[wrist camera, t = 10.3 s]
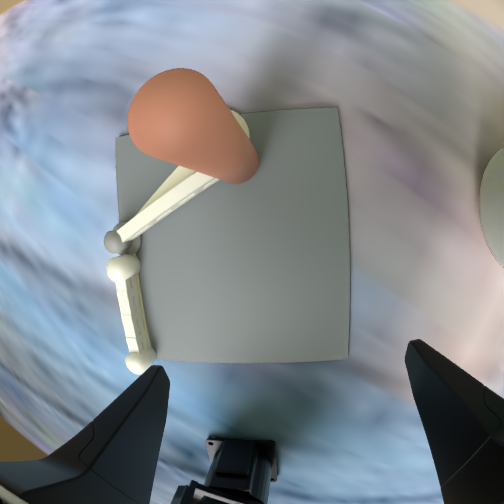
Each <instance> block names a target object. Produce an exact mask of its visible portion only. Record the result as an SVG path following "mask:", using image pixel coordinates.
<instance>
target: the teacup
mask: <svg viewBox="0 0 504 504" xmlns="http://www.w3.org/2000/svg"><path fill="white" fill-rule="evenodd" d="M479 212H480V220H481V226H482V230H483V234H484V237H485V240H486V243H487V245H488V247H489V249H490V251H491V253H492V254H493V256H494V257H495V259H496V260H497V261H498V262H499V264H500V265H501V266H502V267H503V268H504V147H502V148H501V149H500V150H498V151H497V152H496V153H495V155H494V156H493V157H492V158H491V160H490V161H489V163H488V165H487V167H486V169H485V172H484V175H483V178H482V181H481V186H480V194H479Z"/></svg>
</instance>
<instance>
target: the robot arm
mask: <svg viewBox="0 0 504 504" xmlns="http://www.w3.org/2000/svg"><path fill="white" fill-rule="evenodd" d="M405 364H406V368H407V372H408V376H409V380H410V384H411V389H412V393H413V397H414V400H415V403H416V406H417V409H418V412H419V415H420V418H421V421H422V424H423V427H424V430H425V433H426V436H427V440H428V443H429V446H430V450H431V453H432V457H433V460H434V464H435V467H436V471H437V475H438V479H439V483H440V486H441V492H442V496H443V501H444V504H504V398H502V397H500V396H499V395H497V394H496V393H495V392H493V391H492V390H490V389H489V388H488V387H486V386H484V385H483V384H482V383H481V382H479V381H478V380H477V379H475V378H474V377H472V376H471V375H470V374H468V373H467V372H466V371H464V370H463V369H461V368H460V367H459V366H457V365H456V364H454V363H453V362H452V361H450V360H449V359H447V358H446V357H445V356H443V355H442V354H440V353H439V352H438V351H436V350H435V349H433V348H432V347H431V346H429V345H428V344H426V343H425V342H423V341H422V340H420V339H416V340H412V341H410V342H409V343H408V347H407V351H406V355H405ZM169 389H170V381H169V378H168V376H167V374H166V372H165V370H164V368H163V367H162V366H160V365H152V366H150V367H149V368H148V369H147V370H146V371H145V372H144V373H143V374H142V375H141V376H140V377H139V378H138V379H136V380H135V381H134V382H133V383H132V384H131V385H130V386H129V387H128V388H127V389H126V390H125V391H124V392H123V393H122V394H120V395H119V396H118V397H117V398H116V399H115V400H114V401H113V402H112V403H111V404H110V405H109V406H108V407H107V408H105V409H104V410H103V411H102V412H101V413H100V414H99V415H98V416H97V417H96V418H95V419H94V420H93V421H91V422H90V423H89V424H88V425H87V426H86V427H85V428H84V429H83V430H81V431H80V432H79V433H78V434H77V435H75V436H74V437H73V438H72V439H70V440H69V441H68V442H66V443H65V444H64V445H62V446H61V447H60V448H58V449H57V450H55V451H54V452H53V453H51V454H50V455H48V456H47V457H45V458H42V459H38V460H30V461H9V462H0V486H1V487H0V504H149V502H150V497H151V491H152V486H153V481H154V476H155V471H156V466H157V461H158V456H159V451H160V446H161V442H162V437H163V432H164V428H165V423H166V417H167V408H168V399H169ZM211 442H212V443H211ZM269 445H271V446H269ZM206 446H207V450H208V454H209V458H210V462H211V466H210V469H209V472H208V475H207V478H206V481H205V484H204V485H202V484H199V483H198V482H197V481H194V480H191V482H190V484H189V486H188V485H186V486H178V488H177V490H176V493H175V495H174V497H173V500H172V502H171V504H267V501H268V494H269V486H270V482H275V481H277V459H276V443H275V442H274V441H262V440H237V439H222V438H207V440H206Z"/></svg>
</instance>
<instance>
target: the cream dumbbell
mask: <svg viewBox="0 0 504 504" xmlns="http://www.w3.org/2000/svg"><path fill="white" fill-rule="evenodd" d="M140 267H141V265H140V261H139V259H138V257H137V256H134V255H130V254H124V255H121V256H117V257H114V258H112V259H110V260H109V261H108V263H107V267H106V270H107V274H108V276H109V278H110V279H111V280H112V281H114V282H116V288H117V296H118V300H119V305H120V310H121V317H122V322H123V325H124V330H125V334H126V340H127V345H128V347H129V352H130V354H129V355H128V356H127V357H126V360H125V362H126V365H127V367H128V369H129V370H130V371H131V372H133V373H135V374H143V373H144V372H145V371H146V370H147V368H148V367H149V366H150V365H151V364H152V363H153V362H154V361H155V359H156V352H155V350H154V349H153V348H152V347H149V346H148V345H147V340H146V332H145V330H144V325H143V320H142V311H141V308H140V304H139V298H138V287H137V285H136V279H135V275H136V274H137V273H139V271H140Z"/></svg>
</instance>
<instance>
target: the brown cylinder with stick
mask: <svg viewBox="0 0 504 504" xmlns="http://www.w3.org/2000/svg"><path fill="white" fill-rule="evenodd" d="M128 131H129V135H130V137H131V139H132V141H133V143H134V144H135V146H136V147H137V148H138V149H139V150H140V151H142V152H143V153H145V154H146V155H149V156H151V157H154V158H157V159H161V160H164V161H167V162H170V163H173V164H176V165H179V166H182V167H185V168H188V169H191V170H194V171H197V172H196V173H194V174H193V175H191V176H190V177H189V178H187V179H186V180H184V181H183V182H181V183H180V184H179V185H177V186H176V187H174V188H173V189H171V190H170V191H169V192H167V193H166V194H165V195H163V196H162V197H160V198H159V199H158V200H156V201H155V202H154V203H152V204H151V205H150V206H148V207H147V208H146V209H144V210H143V211H142V212H140V213H139V214H138V215H136V216H135V217H134V218H133V219H131V220H130V221H129V222H127V223H126V224H125V225H124V226H122V227H121V228H120V229H119V230H113V231H109V232H107V233H106V235H105V237H104V245H105V248H106V249H107V251H108V252H110V253H118V252H121V251H125V250H128V249H129V248H130V247H131V246H132V244H133V240H134V239H135V238H136V237H138V236H139V235H141V234H142V233H143V232H145V231H146V230H147V229H149V228H150V227H151V226H153V225H154V224H156V223H157V222H158V221H160V220H161V219H163V218H164V217H165V216H167V215H168V214H170V213H171V212H173V211H174V210H175V209H177V208H178V207H180V206H181V205H183V204H184V203H186V202H187V201H188V200H190V199H191V198H193V197H194V196H196V195H197V194H199V193H200V192H202V191H203V190H205V189H206V188H208V187H209V186H211V185H212V184H214V183H215V182H217V181H219V180H222V181H225V182H228V183H232V184H240V183H244V182H246V181H248V180H249V179H251V178H252V177H253V176H254V175H255V173H256V171H257V169H258V166H259V156H258V153H257V151H256V149H255V147H254V146H253V144H252V143H251V141H250V140H249V138H248V136H247V135H246V133H245V132H244V130H243V129H242V127H241V126H240V124H239V123H238V121H237V120H236V118H235V117H234V115H233V114H232V112H231V111H230V109H229V108H228V106H227V105H226V103H225V102H224V100H223V99H222V98H221V96H220V95H219V93H218V92H217V90H216V89H215V87H214V86H213V84H212V83H211V82H210V81H209V79H208V78H206V77H205V76H204V75H203V74H201V73H199V72H197V71H195V70H191V69H185V68H177V69H171V70H167V71H164V72H161V73H159V74H157V75H155V76H154V77H152V78H151V79H150V80H148V81H147V82H146V83H145V84H144V85H143V86H142V87H141V88H140V89H139V91H138V92H137V93H136V95H135V97H134V99H133V101H132V103H131V105H130V108H129V112H128Z"/></svg>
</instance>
